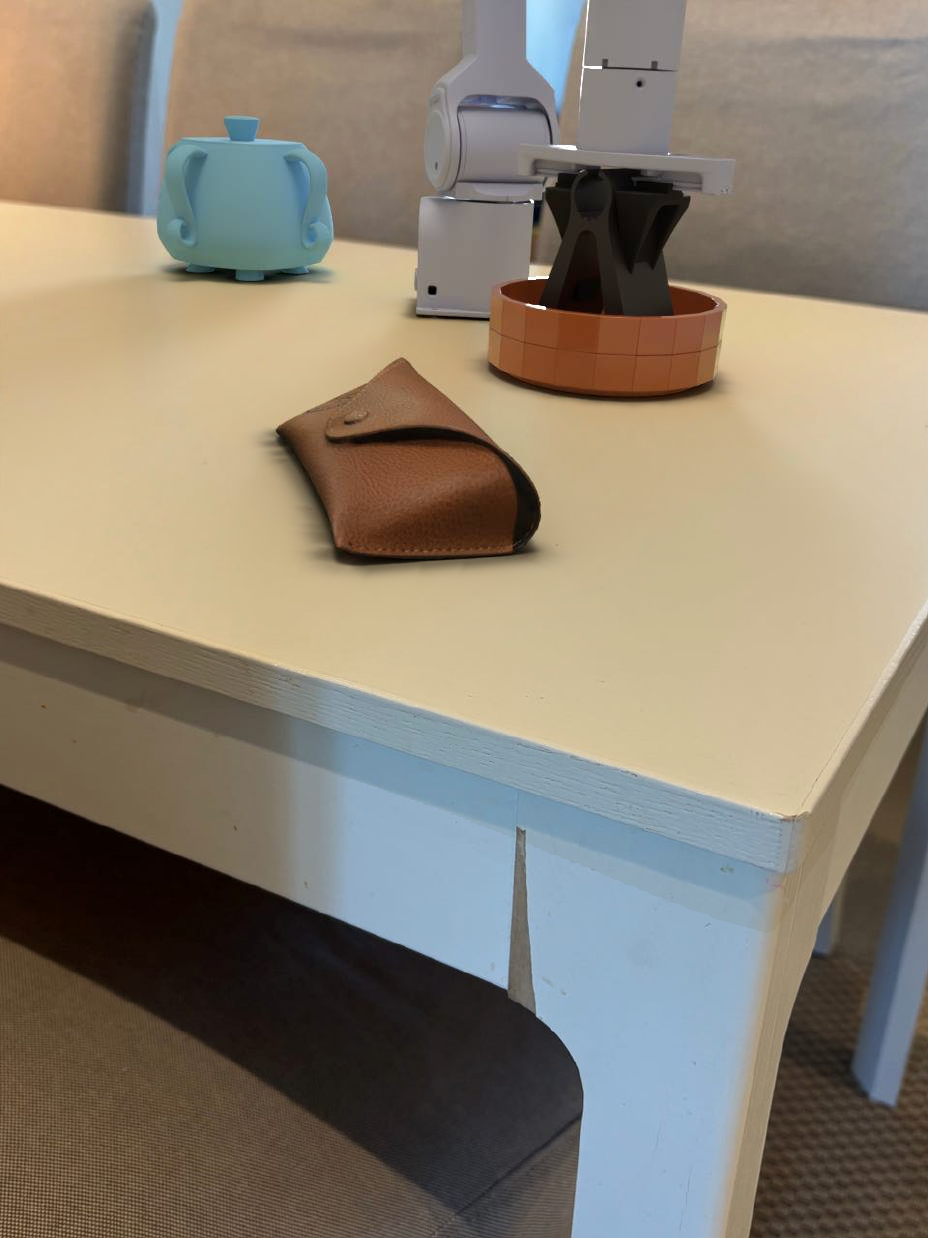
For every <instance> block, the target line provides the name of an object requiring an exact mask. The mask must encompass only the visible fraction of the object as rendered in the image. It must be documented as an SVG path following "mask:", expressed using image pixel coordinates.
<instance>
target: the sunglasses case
mask: <svg viewBox="0 0 928 1238" xmlns="http://www.w3.org/2000/svg"><path fill="white" fill-rule="evenodd" d="M275 433H276V434H277V435H278V437H280V438H281V439H282V440H283V441H284V442H285V443H286V444H287V445H288V446H289V448H291V450H292V451H293V453H294V454H295V455H296V457H297V458H298V460H299V462H300V464H301V465H302V467H303V468H304V471H305V472H306V473H307V475H308V477H309V480H310V481H311V483H312V485H313V487H314V489H315V490H316V492H317V495H318V497H319V499H320V502H321V503H322V505H323V508H324V510H325V512H326V515H327V518H328V521H329V523H330V526H331V535H332V540H333V545H334V546H335V547H336V549H337V550H338V551H343V552H346V553H350V554H353V555H356V556H359V557H376V558H377V557H379V558H389V559H401V560H402V559H403V560H434V559H437V560H438V559H440V560H441V559H454V558H455V559H456V558H472V557H490V556H497V555H498V556H499V555H510V554H512V553H514V552H517V550H519V549H520V548H522V547H524V546H525V545H526V544H527V543H528V542H529V541H531V539H532V538H533V537H534V535H535V534H536V532H537V531H538V529H539V526H540V523H541V520H542V510H541V506H542V503H541V502H542V501H540V496H539V493H538V490H537V487H536V486H535V484H534V482H533V480H532V479H531V477H530V476H529V475H528V474H527V472H526V471H525V470H524V468H523V467H522V466H521V464H520V463H518V462H517V460H516V459H515V458H514V457H513V456H511V455H510V454H509V452H507V451H506V450H504V449H502V447H500V446H499V445H498V444H497V442H495V441H494V440H493V438H491V437H490V436H489V434H487V432H486V431H485V430H484V429H483V428H481V426H479V424H478V423H477V422H476V421H474V419H472V417H470V416H469V415H468V414H467V413H466V412H465V411H464V410H462V408H461V407H459V406H458V405H457V404H456V403H455V402H454V401H453V400H451V399H450V398H449V397H448V396H447V395H446V394H444V393H443V392H442V391H441V390H440V389H439V388H438V387H436V386H435V385H433V384H432V383H431V382H430V381H428V380H427V378H425V377H424V376H422V375H421V374H420V373H419V372H418V371H417V370H416V369H415V368H414V366H413V365H412V364H411V362H410V361H409V360H407V358H405V357H403V356H402V357H401V356H400V357H399V358H397V359H395V360H393V361H392V362H391V363H389V364H387V365H386V366H384V368H383V369H381V370H380V371H379V372H378V373H377V374H375V376H373V378H371V379H370V380H369V381H368V382H366V383H364V384H362V385H360V386H357V387H355V388H353V389H351V390H349V391H347V392H344V393H342V394H339V395H338V396H336V397H333V398H332V399H329V400H327V401H325V402H324V403H321V404H319V405H316V406H315V407H313V408H310V409H307V410H306V411H303V412H302V413H300V414H297V415H295V416H293V417H292V418H289V419H287V420H285V421H284V422H282V423H280V424H279V425H278V426H277V427H276V428H275Z"/></svg>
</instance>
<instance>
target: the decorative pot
mask: <svg viewBox="0 0 928 1238" xmlns="http://www.w3.org/2000/svg"><path fill="white" fill-rule="evenodd" d="M222 120H223V124H224V127H225V130H226V132H227V135H228V136H227V137H223V136H221V137H219V136H215V137H214V136H209V137H208V136H206V137H202V136H201V137H200V136H199V137H197V136H196V137H195V136H194V137H180V139H178V140H177V141H176V142H175V143H173V144H172V145H171V146H170V147H169V149H168V151H167V152H166V156H165V163H164V176H163V179H162V182H161V185H160V186H161V187H160V190H159V195H158V202H157V210H156V233H157V236H158V239H159V240H160V242H161V244H162V245H163V247H164V248H165V250H166V252H167V253H168V254H169V256H170V257H171V258H172V259H174V260H176V261H179V262H183V263H187V264H188V266H187V267H186V269H185V271H186V272H190V273H211V272H214V271H215V269H216V268H220V269H230V270H235V280H239V281H245V282H247V281H248V282H249V281H251V282H254V281H256V282H257V281H263V280H265V276H264V271H274V270H280V271H281V272H282V273H285V274H296V275H297V274H307V273H309V270H308V268H307V266H312V265H313V266H314V265H317V264H320V263H321V262H322V261H323V260H324V258H325V257H326V255H327V253H328V251H329V250H330V248H331V247H332V244H333V242H334V224H333V215H332V211H331V205H330V200H329V198H328V195H327V192H328V172H327V169H326V166H325V164H324V163H323V161H322V159H320V157H319V156H317V155H316V154H315V153H313V152H312V151H309V150H308V148H307V146H306V145H304V143H303V142H297V141H296V142H295V141H289V140H280V139H279V140H278V139H264V138H256V136H257V132H258V130H259V125H260V121H261V120H260V119H259V118H257V117H254V116H246V115H245V116H244V115H228V116H224V117H223V118H222Z"/></svg>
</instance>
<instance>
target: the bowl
mask: <svg viewBox="0 0 928 1238" xmlns="http://www.w3.org/2000/svg"><path fill="white" fill-rule="evenodd" d="M548 277H549V276H536V277H529V278H522V279H516V280H510V281H504V282H501V283H499V284H497V285H494V286H492V287H491V304H490V318H489V324H488V342H487V343H488V344H487V361H488V362H489V363H490V364H492V365H493V366H494V367H495V368H497V369H498V370H500V371H501V372H505V373H507V375H509V376H511V377H513V378H514V379H517V380H519V381H522V382H524V383H527V384H529V385H533V386H537V387H540V388H545V389H549V390H554V391H560V392H565V393H572V394H579V395H589V396H599V397H619V398H620V397H621V398H623V397H624V398H628V397H630V398H637V397H655V396H656V397H657V396H664V395H672V394H677V393H681V392H684V391H687V390H690V389H692V388H693V387H694V388H695V387H698V386H700V385H702V384H703V385H704V384H705V383H708V382H711V381H713V380H714V378H715V376H717V374H718V370H719V365H720V357H721V350H722V345H723V337H724V329H725V324H726V317H727V311H728V304H727V303H726V302H725V301H724V300H723V299H722V298H721V297H718V296H716V295H713V294H710V293H708V292H704V291H702V290H697V289H693V288H689V287H684V286H679V285H674V284H669V290H670V296H671V302H672V307H673V313H674V316H618V315H605V313H604V307H603V310H602V313H601V315H600V314H590V313H581V312H572V311H563V310H557V309H551V308H545V307H540V306H538V303H539V300H540V298H541V295H542V292H543V290H544V287H545V285H546V282H547V279H548Z"/></svg>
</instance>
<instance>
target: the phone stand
mask: <svg viewBox="0 0 928 1238" xmlns="http://www.w3.org/2000/svg"><path fill="white" fill-rule="evenodd" d="M631 177H644V178H654V179H660V178H659V176H644V175H641V169H630V168H615V167H612V168H601V169H587V170H582V171H581V173H580V174H579V175H578V176H577V177H576V179H575V180H574V182H573V185H572V188H571V212H570V218H569V223H568V226H567V229H566V231H565V234H564V237H563V239H562V240H561V242H560V245H559V247H558V250H557V253H556V256H555V258H554V261H553V263H552V266H551V268H550V271H549V274H548V276H547V277H548V279H547V282H546V285H545V287H544V290H543V292H542V295H541V298H540V300H539V303H538V306H540V307H545V308H551V309H557V310H563V311H572V312H581V313H590V314H600V315H601V313H602V310H603V307H604V313H605V315H618V316H674V313H673V307H672V302H671V296H670V290H669V285H670V284H669V279H668V273H667V266H666V262H665V256H664V255H665V254H664V249H663V250H662V252H661V254H660V256H659V259H658V261H657V263H656V265H655V268H654V270H652V269H651V266H650V263H649V262H648V261H647V262H641V263H635V266H634V269H633V273H632V274H631V273H630V272H629V268H628V264H627V260H626V256H625V253H624V249H623V246H622V242H621V239H620V236H619V225H618V215H617V207H616V201H615V193H616V191H625V190H636V186H634V181H633V180H632V178H631ZM602 180H604V182H605V183H601V182H602ZM593 277H601V283H600V288H599V292H598V296H597V299H594V300H589V301H584V302H576V301H575V296H576V290H577V285H578V280H580V279H587V278H593Z"/></svg>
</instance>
